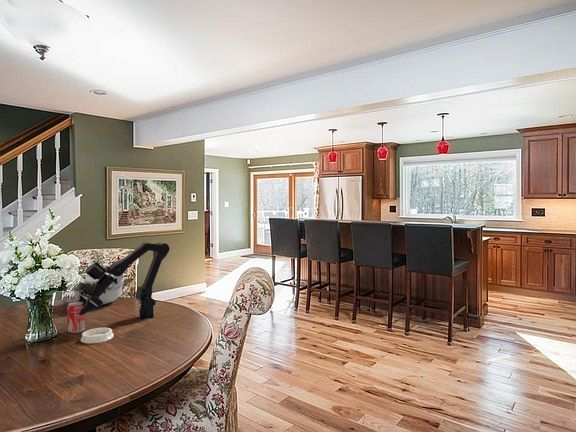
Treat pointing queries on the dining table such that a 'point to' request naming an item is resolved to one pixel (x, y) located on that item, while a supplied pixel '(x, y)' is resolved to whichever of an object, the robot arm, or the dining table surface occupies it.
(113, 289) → the decorative bowl
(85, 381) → the dining table surface
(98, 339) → the white ring
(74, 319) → the soda can
